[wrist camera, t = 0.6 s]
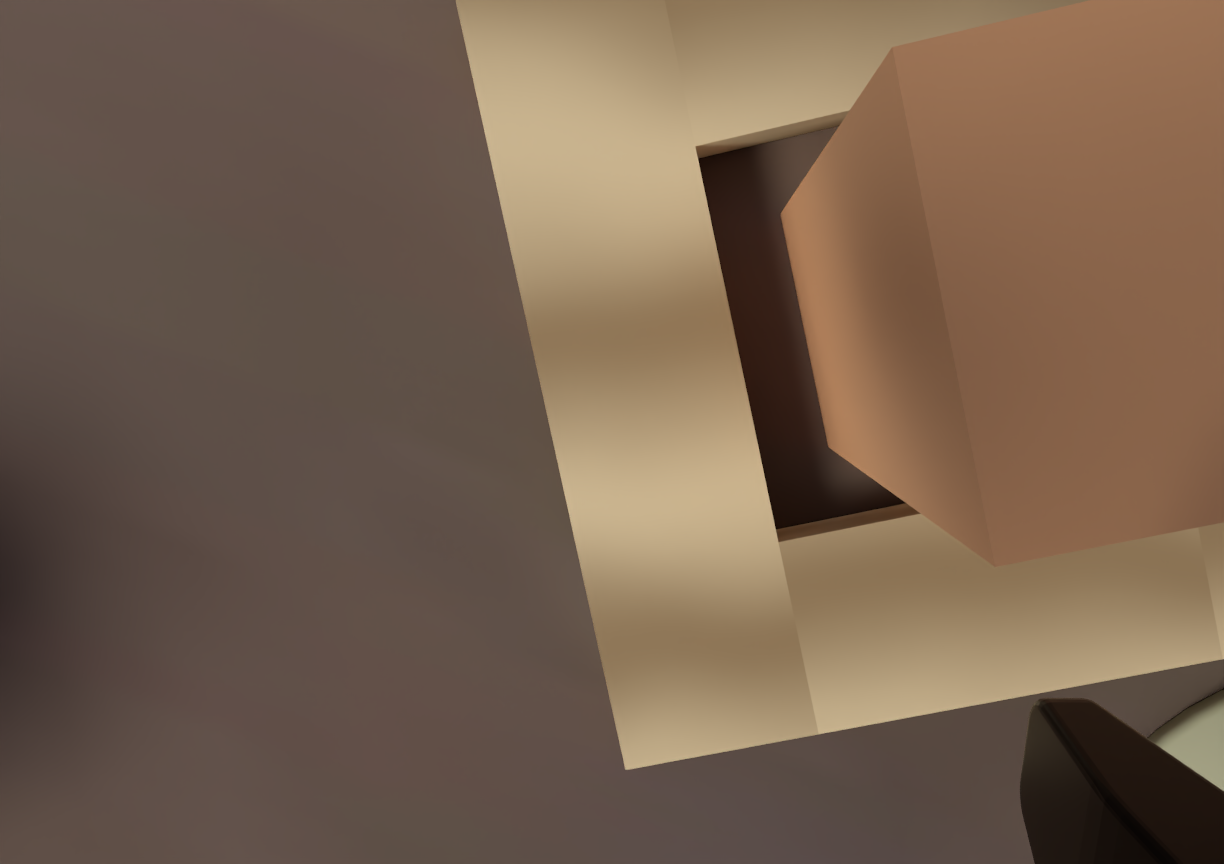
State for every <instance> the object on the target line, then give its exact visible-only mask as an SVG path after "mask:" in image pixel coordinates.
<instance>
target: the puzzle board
mask: <svg viewBox="0 0 1224 864" xmlns="http://www.w3.org/2000/svg"><path fill="white" fill-rule="evenodd" d="M1085 1H1089V0H456V4H457V9H458V13H459V18H460V22H461V27H462V31H463V36H464V40H465V45H466V49H467V54H468V58H469V63H470V67H471V72H472V76H473V81H474V86H475V90H476V95H477V99H478V104H479V108H480V113H481V117H482V122H483V126H484V131H485V135H486V140H487V144H488V149H489V153H490V158H491V163H492V167H493V172H494V176H495V181H496V185H497V190H498V194H499V199H500V203H501V208H502V212H503V217H504V221H505V226H506V230H507V235H508V240H509V244H510V249H511V253H512V258H513V262H514V267H515V271H516V276H517V280H518V285H519V289H520V294H521V298H522V303H523V307H524V312H525V317H526V321H527V326H528V330H529V335H530V339H531V344H532V348H533V353H534V357H535V362H536V366H537V371H538V375H539V380H540V384H541V389H542V394H543V398H544V403H545V407H546V412H547V416H548V421H549V425H550V430H551V434H552V439H553V443H554V448H555V452H556V457H557V461H558V466H559V471H560V475H561V480H562V484H563V489H564V493H565V498H566V502H567V507H568V511H569V516H570V520H571V525H572V529H573V534H574V538H575V543H576V548H577V552H578V557H579V561H580V566H581V570H582V575H583V579H584V584H585V588H586V593H587V597H588V602H589V606H590V611H591V615H592V620H593V625H594V629H595V634H596V638H597V643H598V647H599V652H600V656H601V661H602V665H603V670H604V674H605V679H606V683H607V688H608V692H609V697H610V702H611V706H612V711H613V715H614V720H615V724H616V729H617V733H618V738H619V742H620V747H621V751H622V756H623V760H624V765H625V769H626V770H629V769H634V768H640V767H645V766H650V765H656V764H661V763H666V762H672V761H677V760H683V759H688V758H693V757H699V756H704V755H709V754H715V753H720V752H726V751H731V750H736V749H742V748H747V747H753V746H758V745H763V744H769V743H774V742H779V741H785V740H790V739H796V738H801V737H806V736H812V735H817V734H822V733H828V732H833V731H839V730H844V729H849V728H855V727H860V726H865V725H871V724H876V723H882V722H887V721H892V720H898V719H903V718H908V717H914V716H919V715H925V714H930V713H935V712H941V711H946V710H952V709H957V708H962V707H968V706H973V705H978V704H984V703H989V702H995V701H1000V700H1005V699H1011V698H1016V697H1021V696H1027V695H1032V694H1038V693H1043V692H1048V691H1054V690H1059V689H1064V688H1070V687H1075V686H1081V685H1086V684H1091V683H1097V682H1102V681H1108V680H1113V679H1118V678H1124V677H1129V676H1134V675H1140V674H1145V673H1151V672H1156V671H1161V670H1167V669H1172V668H1177V667H1183V666H1188V665H1194V664H1199V663H1204V662H1210V661H1215V660H1220V659H1224V522H1223V523H1218V524H1213V525H1208V526H1202V527H1197V528H1192V529H1187V530H1182V531H1177V532H1172V533H1167V534H1162V535H1156V536H1151V537H1146V538H1141V539H1136V540H1131V541H1126V542H1121V543H1116V544H1111V545H1105V546H1100V547H1095V548H1090V549H1085V550H1080V551H1075V552H1070V553H1065V554H1060V555H1054V556H1049V557H1044V558H1039V559H1034V560H1029V561H1024V562H1019V563H1014V564H1009V565H1003V566H998V567H994V566H993V565H992V564H990V563H989V562H987V561H986V560H985V559H983V558H982V557H980V556H979V555H978V554H976V553H975V552H973V551H972V550H971V549H969V548H968V547H967V546H965V545H964V544H962V543H961V542H960V541H958V540H957V539H955V538H954V537H953V536H951V535H950V534H948V533H947V532H946V531H944V530H943V529H942V528H940V527H939V526H937V525H936V524H935V523H933V522H932V521H930V520H929V519H928V518H926V517H925V516H923V515H922V514H921V513H919V512H918V511H916V510H915V509H914V508H912V507H911V506H910V505H908V504H907V503H905V504H900V505H895V506H890V507H885V508H880V509H875V510H870V511H865V512H860V513H855V514H850V515H845V516H840V517H835V518H830V519H826V520H821V521H816V522H811V523H806V524H801V525H796V526H791V527H786V528H781V529H776V528H775V523H774V519H773V514H772V509H771V504H770V500H769V495H768V490H767V485H766V481H765V476H764V471H763V466H762V462H761V457H760V452H759V447H758V442H757V438H756V433H755V428H754V423H753V419H752V414H751V409H750V404H749V400H748V395H747V390H746V385H745V380H744V376H743V371H742V366H741V361H740V357H739V352H738V347H737V342H736V338H735V333H734V328H733V323H732V319H731V314H730V309H729V304H728V299H727V295H726V290H725V285H724V280H723V276H722V271H721V266H720V261H719V257H718V252H717V247H716V242H715V238H714V233H713V228H712V223H711V218H710V214H709V209H708V204H707V199H706V195H705V190H704V185H703V180H702V176H701V171H700V166H699V161H698V158H702V157H707V156H711V155H715V154H719V153H724V152H728V151H732V150H737V149H741V148H745V147H750V146H754V145H758V144H763V143H767V142H771V141H775V140H780V139H784V138H788V137H793V136H797V135H801V134H806V133H810V132H814V131H819V130H823V129H827V128H832V127H836V126H840V124H841V123H842V121H843V120H844V118H845V117H846V115H847V114H848V112H849V111H850V109H851V108H852V106H853V105H854V103H855V102H856V100H857V99H858V97H859V96H860V94H861V93H862V91H863V90H864V88H865V87H866V85H867V84H868V82H869V81H870V79H871V78H872V76H873V75H874V73H875V72H876V70H877V69H878V67H879V66H880V64H881V63H882V61H883V60H884V58H885V57H886V55H887V54H888V52H889V51H890V50H891V48H892V47H895V46H899V45H903V44H908V43H912V42H916V41H920V40H924V39H929V38H933V37H937V36H941V35H945V34H950V33H954V32H958V31H962V30H967V29H971V28H975V27H979V26H983V25H988V24H992V23H996V22H1000V21H1005V20H1009V19H1013V18H1017V17H1021V16H1026V15H1030V14H1034V13H1038V12H1043V11H1047V10H1051V9H1055V8H1059V7H1064V6H1068V5H1072V4H1076V3H1080V2H1085Z"/></svg>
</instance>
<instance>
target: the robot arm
mask: <svg viewBox="0 0 1224 864" xmlns="http://www.w3.org/2000/svg"><path fill="white" fill-rule="evenodd" d="M1020 800H1021V808H1022V814H1023V818H1024V822H1025V826H1026V830H1027V834H1028V838H1029V842H1030V846H1031V850H1032V854H1033V858H1034V862H1035V864H1224V791H1223V790H1221V789H1220V788H1219V787H1217V786H1216V785H1214V784H1213V783H1211V782H1210V781H1208V780H1207V779H1205V778H1204V777H1203V776H1201V775H1200V774H1198V773H1197V772H1195V771H1194V770H1192V769H1191V768H1190V767H1188V766H1187V765H1185V764H1184V763H1182V762H1181V761H1179V760H1178V759H1177V758H1175V757H1174V756H1172V755H1171V754H1169V753H1168V752H1166V751H1165V750H1163V749H1162V748H1161V747H1159V746H1158V745H1156V744H1155V743H1153V742H1152V741H1150V740H1149V739H1148V738H1146V737H1145V736H1143V735H1142V734H1140V733H1139V732H1137V731H1136V730H1135V729H1133V728H1132V727H1130V726H1129V725H1127V724H1126V723H1124V722H1123V721H1121V720H1120V719H1119V718H1117V717H1116V716H1114V715H1113V714H1111V713H1110V712H1108V711H1107V710H1106V709H1104V708H1103V707H1101V706H1100V705H1098V704H1097V703H1095V702H1093V701H1091V700H1089V699H1084V698H1043V699H1039V700H1038V701H1037V702H1035V703H1034V705H1033V707H1032V709H1031V711H1030V715H1029V722H1028V729H1027V736H1026V744H1025V751H1024V758H1023V765H1022V773H1021V781H1020Z"/></svg>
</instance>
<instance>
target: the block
mask: <svg viewBox="0 0 1224 864" xmlns="http://www.w3.org/2000/svg"><path fill="white" fill-rule="evenodd" d="M780 215H781V220H782V225H783V230H784V235H785V239H786V244H787V249H788V254H789V259H790V264H791V269H792V273H793V278H794V283H795V288H796V293H797V298H798V303H799V307H800V312H801V317H802V322H803V327H804V332H805V336H806V341H807V346H808V351H809V356H810V361H811V366H812V370H813V375H814V380H815V385H816V390H817V395H818V400H819V404H820V409H821V414H822V419H823V424H824V429H825V434H826V438H827V443H828V447H829V448H830V449H832V450H833V451H834V452H836V453H837V454H839V455H840V456H841V457H843V458H844V459H846V460H847V461H848V462H850V463H851V464H853V465H854V466H855V467H857V468H858V469H860V470H861V471H862V472H864V473H865V474H866V475H868V476H869V477H871V478H872V479H873V480H875V481H876V482H878V483H879V484H880V485H882V486H883V487H885V488H886V489H887V490H889V491H890V492H891V493H893V494H894V495H896V496H897V497H898V498H900V499H901V500H903V501H904V502H905V503H907V504H908V505H910V506H911V507H912V508H914V509H915V510H916V511H918V512H919V513H921V514H922V515H923V516H925V517H926V518H928V519H929V520H930V521H932V522H933V523H935V524H936V525H937V526H939V527H940V528H942V529H943V530H944V531H946V532H947V533H948V534H950V535H951V536H953V537H954V538H955V539H957V540H958V541H960V542H961V543H962V544H964V545H965V546H967V547H968V548H969V549H971V550H972V551H973V552H975V553H976V554H978V555H979V556H980V557H982V558H983V559H985V560H986V561H987V562H989V563H990V564H992V565H993V566H994V567H998V566H1003V565H1009V564H1014V563H1019V562H1024V561H1029V560H1034V559H1039V558H1044V557H1049V556H1054V555H1060V554H1065V553H1070V552H1075V551H1080V550H1085V549H1090V548H1095V547H1100V546H1105V545H1111V544H1116V543H1121V542H1126V541H1131V540H1136V539H1141V538H1146V537H1151V536H1156V535H1162V534H1167V533H1172V532H1177V531H1182V530H1187V529H1192V528H1197V527H1202V526H1208V525H1213V524H1218V523H1223V522H1224V0H1089V1H1085V2H1080V3H1076V4H1072V5H1068V6H1064V7H1059V8H1055V9H1051V10H1047V11H1043V12H1038V13H1034V14H1030V15H1026V16H1021V17H1017V18H1013V19H1009V20H1005V21H1000V22H996V23H992V24H988V25H983V26H979V27H975V28H971V29H967V30H962V31H958V32H954V33H950V34H945V35H941V36H937V37H933V38H929V39H924V40H920V41H916V42H912V43H908V44H903V45H899V46H895V47H892V48H891V50H890V51H889V52H888V54H887V55H886V57H885V58H884V60H883V61H882V63H881V64H880V66H879V67H878V69H877V70H876V72H875V73H874V75H873V76H872V78H871V79H870V81H869V82H868V84H867V85H866V87H865V88H864V90H863V91H862V93H861V94H860V96H859V97H858V99H857V100H856V102H855V103H854V105H853V106H852V108H851V109H850V111H849V112H848V114H847V115H846V117H845V118H844V120H843V121H842V123H841V124H840V126H839V127H838V129H837V130H836V132H835V133H834V135H833V136H832V138H831V139H830V141H829V142H828V144H827V145H826V147H825V148H824V150H823V151H822V153H821V154H820V156H819V157H818V158H817V160H816V161H815V163H814V164H813V166H812V167H811V169H810V170H809V172H808V173H807V175H806V176H805V178H804V179H803V181H802V182H801V184H800V185H799V187H798V188H797V190H796V191H795V193H794V194H793V196H792V197H791V199H790V200H789V202H788V203H787V205H786V206H785V208H784V209H783V211H782V212H781V214H780Z"/></svg>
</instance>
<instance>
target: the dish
mask: <svg viewBox="0 0 1224 864" xmlns="http://www.w3.org/2000/svg"><path fill="white" fill-rule="evenodd" d="M1148 739H1149V740H1150V741H1152V742H1153V743H1155V744H1156V745H1158V746H1159V747H1161V748H1162V749H1163V750H1165V751H1166V752H1168V753H1169V754H1171V755H1172V756H1174V757H1175V758H1177V759H1178V760H1179V761H1181V762H1182V763H1184V764H1185V765H1187V766H1188V767H1190V768H1191V769H1192V770H1194V771H1195V772H1197V773H1198V774H1200V775H1201V776H1203V777H1204V778H1205V779H1207V780H1208V781H1210V782H1211V783H1213V784H1214V785H1216V786H1217V787H1219V788H1220V789H1221V790H1223V791H1224V690H1221V691H1219V692H1217V693H1215V694H1213V695H1212V696H1210V697H1208V698H1206V699H1204V700H1202V701H1200V702H1199V703H1197V704H1195V705H1193V706H1191V707H1189V708H1187V709H1186V710H1184V711H1183V712H1182V713H1180V714H1179V715H1177V716H1176V717H1175V718H1173V719H1172V720H1170V721H1169V722H1168V723H1166V724H1165V725H1163V726H1162V727H1160V728H1159V729H1158V730H1156V731H1155V732H1154V733H1153V734H1152V735H1151V736H1150V737H1149V738H1148Z"/></svg>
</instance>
